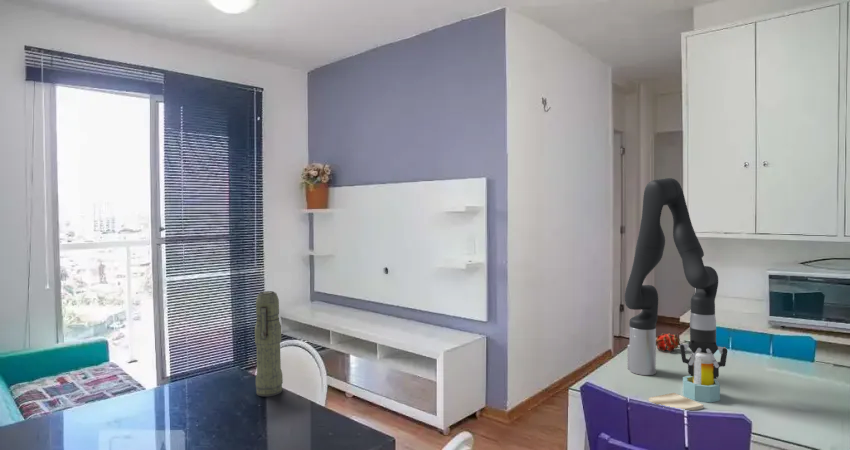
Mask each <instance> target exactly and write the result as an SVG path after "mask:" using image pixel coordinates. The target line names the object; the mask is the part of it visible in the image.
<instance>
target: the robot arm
mask: <svg viewBox="0 0 850 450" xmlns="http://www.w3.org/2000/svg"><path fill="white" fill-rule="evenodd" d="M642 198H643V199H642V211H641V220H640V225H639V226H640V227H639V231H638V232H639V233H638V236H637V240H636V241H637V242H636V247H635V251H634V257H633V263H632V267H631V271H630V274H629V277H628V281H627V284H626V288H625V291H624V292H625V293H624V303H625V306H626V307H627V308H628V310H632V311H633V310H634V311H635V310H637V311H638V310H640V311H641V312H639V314H637V315H636V316H632V317H631V318H630V319H629V322H628V323H629V343H628V344H627V370H629V372H630V373H633V374H635V375H636V374H637V375H641V376H653V375H656V373H657V372H656V371H657V368H656V367H657V366H656V365H657V346H656V339H657V323H658V313H659V312H658V311H659V294H658V291H657V290H658V289H656V287H655V286H654V285H650V284H644V281H645V280H646V277H648V275H649V274H650V273H651V272H652V270H655V268H656V267H657V265H658V264H659V263H660V261H661V260H662V258H663V255H664V251H665V245H666V237H665V233H664V230H663V228H662V225H661V215H662V211H663V207H664V206H668V209H669V211H670V212H671V213H670V214H671V215H672V221H673V222H672V223H673V226H672V236H673V237H672V238H673V242H674V245H675V247H676V249H677V251H678V253H679V257H680V258H681V261H682V262H681V263H682V268H683V273H684V277H685V278H686V281H687V282H688V284H689V285H690V286H691V287H692V288H694V289H695V291H694V294H693V295H692V296H691V299H690V317H689V341H688V342H689V343H680V345H679V350H680V355H681V361H682V363H684V364H687V372H688V375H689V376H693V363H694V360H695V355H696V353H697V352H699V353H700V352H702V353H703V352H704V353H711V355H712V361H713V364H714V380H717V378H719V376H720V375H719V374H720V373H719V369H720V367H726V365H727V357H728V349H727V348H726V346H718V345H717V320H716V296H717V292H718V288H719V275H718V273H717V271H716V269H714V268H713V267H711V266H709V265H704V261H703V257H704V256H705V252H704V250H703V247H702V244H701V242H700V241H699V238H698V236H697V233H696V232H695V229H694V226H693V224H692V220H691V217H690V213H689V210H688V206H687V202H686V198H685V194H684V191H683V188H682V185H681V183H680V182H679V181H678V180H677V179H675V178H673V177H669V178H666V177H665V178H659V179H653V180H650V181H648V183H647V184H646V186H645V188H644V191H643V197H642ZM688 349H690V350H691V354H690V356H689V358H686V356H687V355H686V351H687V352H688ZM717 351H718V352H719V354H721V355H720V361H717V360H716V357H715V356H713V355H715V354H716V352H717ZM693 353H694V354H693Z"/></svg>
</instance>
